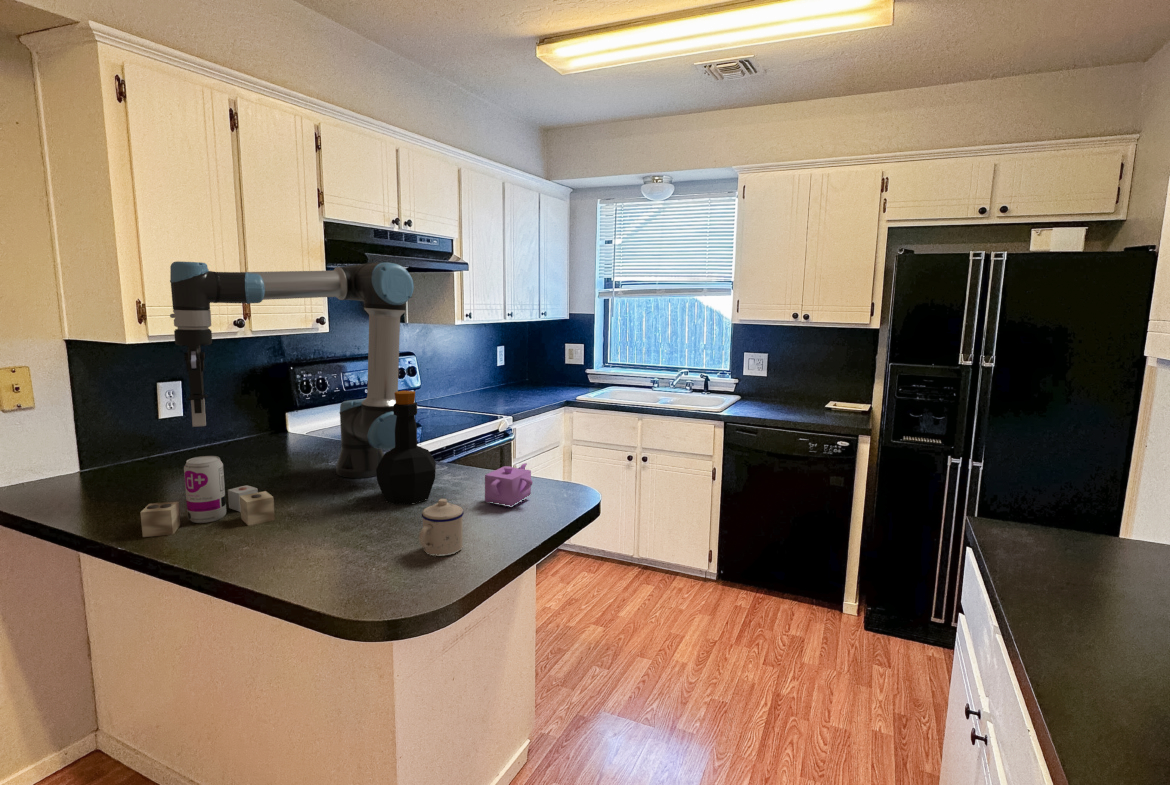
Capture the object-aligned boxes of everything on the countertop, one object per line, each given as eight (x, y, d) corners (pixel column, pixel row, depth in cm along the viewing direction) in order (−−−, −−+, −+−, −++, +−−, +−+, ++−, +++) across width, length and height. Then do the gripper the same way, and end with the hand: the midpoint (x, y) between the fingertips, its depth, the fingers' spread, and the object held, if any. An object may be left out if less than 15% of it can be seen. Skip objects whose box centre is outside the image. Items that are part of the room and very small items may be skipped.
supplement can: (209, 525, 151) (204, 465, 148) (179, 522, 152) (174, 462, 150) (234, 514, 159) (230, 456, 156) (206, 510, 160) (201, 454, 158)
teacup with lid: (440, 538, 147) (439, 490, 145) (471, 546, 143) (471, 497, 141) (404, 557, 136) (403, 506, 134) (437, 566, 132) (436, 513, 130)
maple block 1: (180, 525, 151) (178, 500, 150) (173, 534, 145) (170, 509, 144) (151, 527, 149) (149, 502, 148) (142, 537, 143) (140, 511, 142)
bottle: (445, 502, 171) (444, 394, 167) (384, 511, 163) (381, 398, 158) (427, 485, 185) (426, 385, 180) (370, 493, 177) (367, 389, 172)
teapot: (507, 489, 184) (507, 456, 182) (548, 496, 178) (549, 462, 176) (471, 507, 168) (471, 471, 166) (515, 516, 162) (516, 479, 160)
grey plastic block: (247, 503, 167) (246, 484, 166) (258, 506, 164) (257, 487, 164) (229, 508, 163) (227, 489, 162) (240, 512, 160) (238, 492, 159)
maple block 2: (266, 513, 160) (265, 490, 159) (274, 520, 155) (273, 496, 154) (241, 519, 156) (239, 495, 155) (248, 525, 151) (246, 501, 150)
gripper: (176, 326, 152) (183, 421, 155) (171, 329, 140) (178, 432, 144) (212, 326, 155) (218, 419, 159) (210, 329, 144) (216, 429, 148)
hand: (199, 425), depth 151 cm, fingers closed
